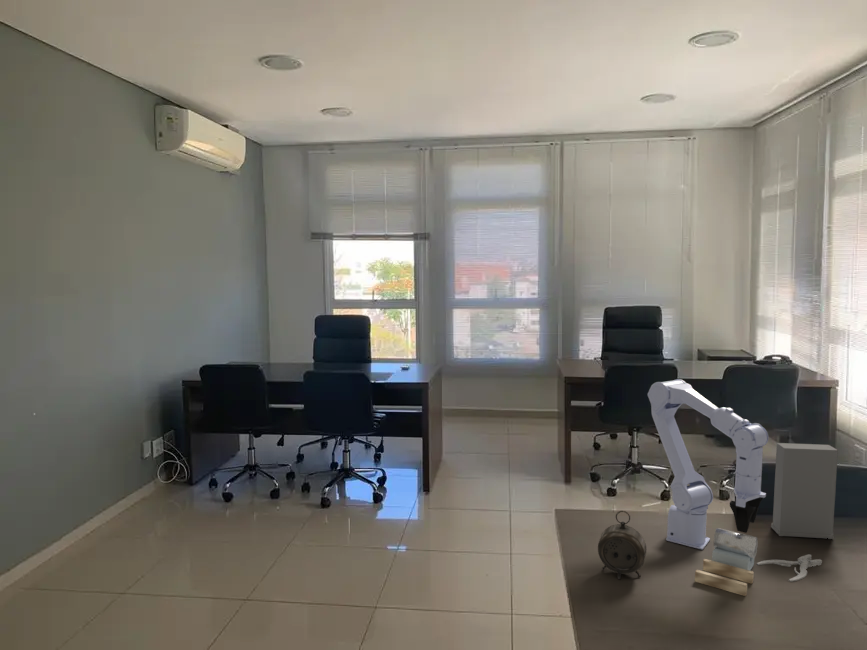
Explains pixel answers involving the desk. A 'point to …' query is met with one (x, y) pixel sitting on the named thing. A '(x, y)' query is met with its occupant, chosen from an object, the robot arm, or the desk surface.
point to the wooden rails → (722, 581)
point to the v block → (732, 559)
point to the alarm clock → (622, 548)
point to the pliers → (803, 561)
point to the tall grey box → (804, 490)
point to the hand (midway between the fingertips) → (745, 526)
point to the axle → (735, 542)
